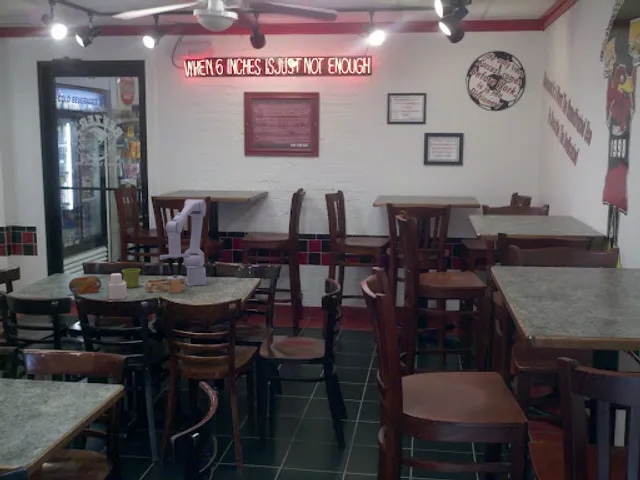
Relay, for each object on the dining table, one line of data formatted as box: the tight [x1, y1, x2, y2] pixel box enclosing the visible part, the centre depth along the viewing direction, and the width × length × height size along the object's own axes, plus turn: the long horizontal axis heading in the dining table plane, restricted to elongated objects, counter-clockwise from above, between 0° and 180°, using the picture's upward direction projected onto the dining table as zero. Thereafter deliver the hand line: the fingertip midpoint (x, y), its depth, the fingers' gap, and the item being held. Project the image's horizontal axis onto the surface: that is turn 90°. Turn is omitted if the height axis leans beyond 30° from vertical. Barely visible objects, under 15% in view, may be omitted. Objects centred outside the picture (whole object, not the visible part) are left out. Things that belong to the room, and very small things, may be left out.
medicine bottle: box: [107, 272, 128, 300], centre depth 335 cm, size 7×7×12 cm
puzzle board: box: [144, 278, 186, 294], centre depth 355 cm, size 18×12×4 cm, turn 111°
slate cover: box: [165, 274, 186, 282], centre depth 356 cm, size 8×8×4 cm
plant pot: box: [121, 268, 141, 289], centre depth 362 cm, size 9×9×9 cm
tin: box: [68, 275, 102, 296], centre depth 346 cm, size 15×3×8 cm, turn 122°
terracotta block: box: [170, 279, 182, 294], centre depth 348 cm, size 4×4×6 cm
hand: (175, 273), depth 347 cm, fingers open, 3 cm apart
